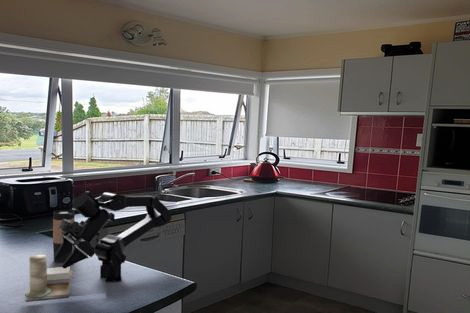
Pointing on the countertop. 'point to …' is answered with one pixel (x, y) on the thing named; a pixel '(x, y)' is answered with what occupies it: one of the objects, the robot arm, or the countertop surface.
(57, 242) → the travel mug
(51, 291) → the wooden board
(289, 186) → the countertop surface
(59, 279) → the slab
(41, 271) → the roller
